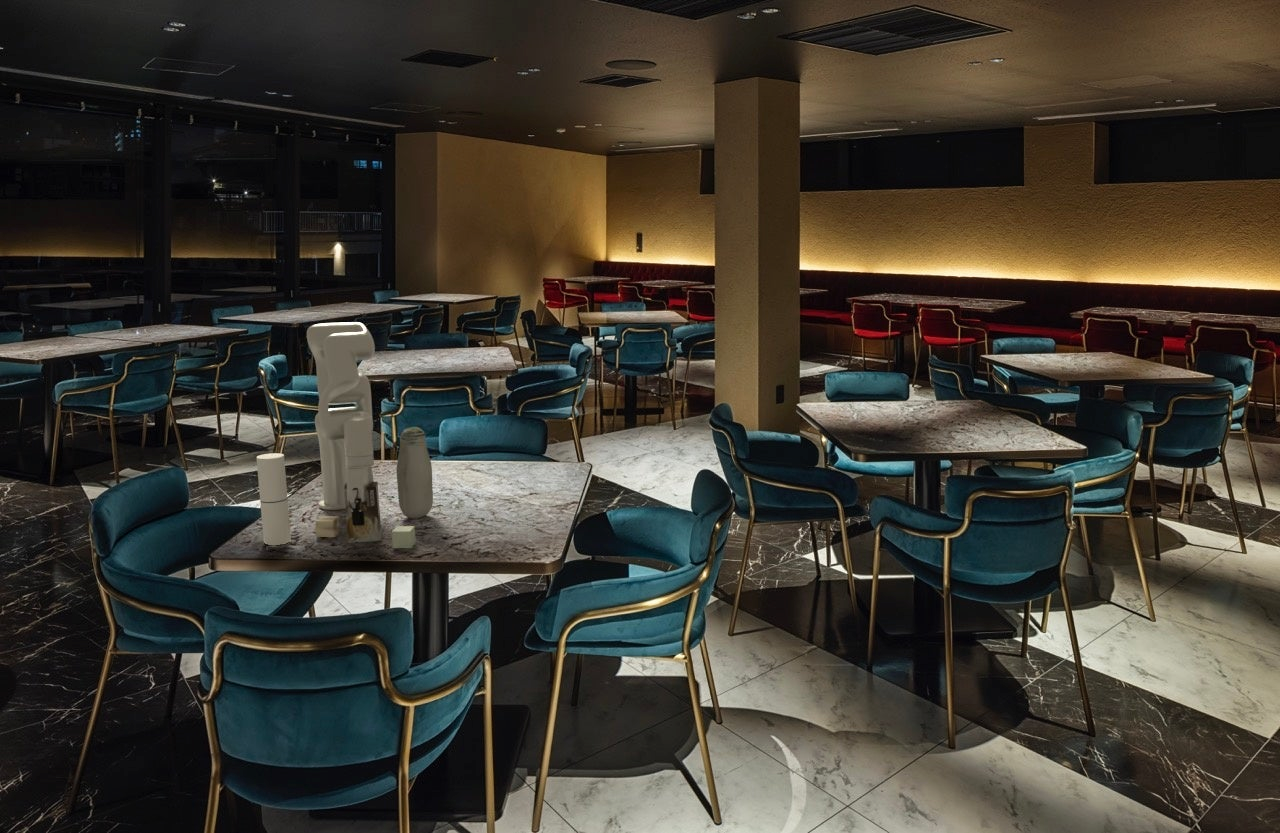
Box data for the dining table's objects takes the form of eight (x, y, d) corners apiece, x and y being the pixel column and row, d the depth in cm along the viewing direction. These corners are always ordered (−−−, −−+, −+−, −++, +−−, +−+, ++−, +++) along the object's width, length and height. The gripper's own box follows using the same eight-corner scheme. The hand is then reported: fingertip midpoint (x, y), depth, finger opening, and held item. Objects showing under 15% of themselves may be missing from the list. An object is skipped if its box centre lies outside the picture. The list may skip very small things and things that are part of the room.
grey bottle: (425, 522, 282) (420, 431, 277) (394, 521, 284) (388, 430, 279) (439, 513, 292) (434, 425, 287) (408, 512, 294) (403, 424, 289)
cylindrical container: (267, 548, 260) (260, 460, 255) (260, 541, 265) (253, 455, 261) (294, 543, 264) (287, 456, 260) (286, 537, 270) (279, 452, 265)
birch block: (323, 532, 274) (321, 516, 273) (339, 532, 274) (338, 516, 273) (316, 538, 269) (315, 521, 268) (333, 537, 269) (332, 521, 268)
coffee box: (382, 534, 271) (379, 480, 268) (380, 541, 265) (377, 486, 262) (349, 537, 269) (345, 482, 266) (347, 543, 263) (343, 488, 260)
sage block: (397, 543, 263) (396, 526, 262) (415, 543, 263) (414, 526, 262) (392, 548, 258) (391, 531, 257) (410, 548, 258) (409, 531, 257)
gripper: (356, 453, 271) (360, 512, 275) (335, 467, 254) (340, 529, 257) (382, 453, 271) (386, 512, 274) (362, 467, 254) (367, 529, 257)
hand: (363, 520), depth 266 cm, fingers open, 8 cm apart
